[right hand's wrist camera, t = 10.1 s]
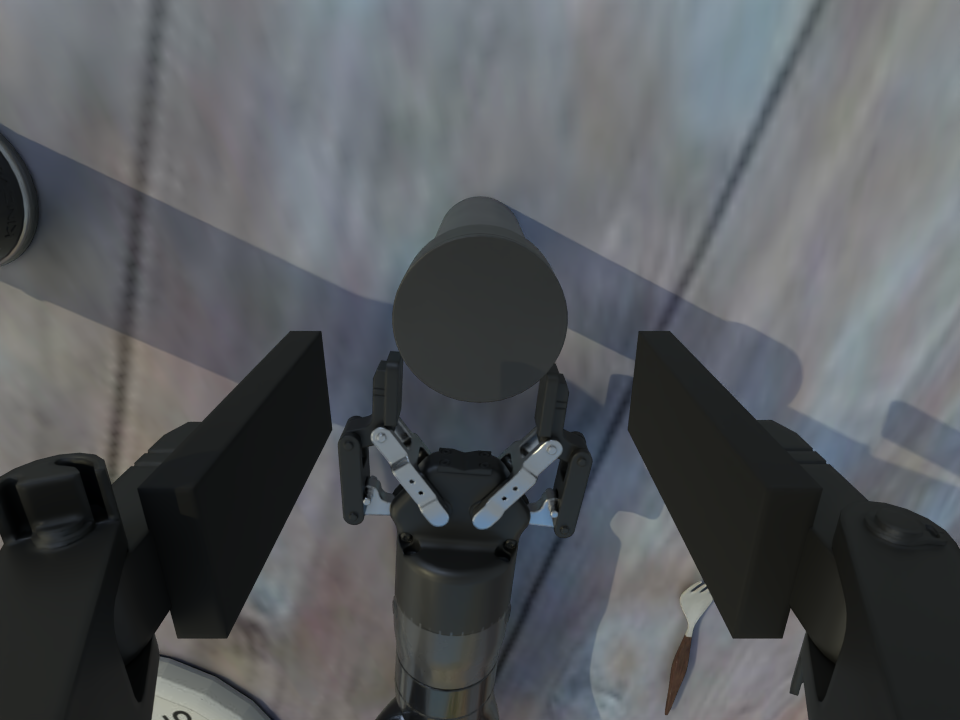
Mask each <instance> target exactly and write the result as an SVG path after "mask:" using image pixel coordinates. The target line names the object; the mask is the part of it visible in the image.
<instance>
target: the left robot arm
mask: <svg viewBox="0 0 960 720" xmlns="http://www.w3.org/2000/svg"><path fill="white" fill-rule="evenodd" d="M37 222H38V201H37V195H36V191H35V187H34V184H33V181H32V179H31V176H30V174H29V172H28V170H27V168H26V166H25V164H24V162H23V161H22V159H21V157H20V156H19V154H18V153H17V152H16V150H15V149H14V148H13V146H12V145H11V144H10V143H9V142H8V140H7V139H6V138H5V137H4V136H3V135H2V134H1V133H0V266H3V265H5V264H8V263H10V262H11V261H13V260H15V259H16V258H18V257H19V256H20V255H21V254H22V253H23V252H24V251H25V250H26V249H27V247H28V246H29V244H30V243H31V241H32V239H33V237H34V234H35V231H36V228H37ZM402 378H403V358H402V356H401V354H400V352H396V351H390V354H389V356H388V359H387V361H383V360H381V362H380V364H379V366H378V368H377V370H376V373H375V375H374V378H373V414H371V415H370V416H367V417H363V418H362V417H360V416H353V417H351V418H349V420H348V421H347V424H346V426H345V428H344V430H343V433H342V435H341V437H340V439H339V442H338V454H339V467H340V480H341V493H342V506H343V518H344V520H345V521H346V522H347V523H349V524H351V525H357V524H360V523H361V522H362V521H363V519H364V516H365V515H391V518H392V519H393V521H394V522H395V524H396V527H397V551H396V575H395V596H394V599H393V614H394V628H395V637H396V666H395V692H396V697H395V698H394V699H393V700H392V701H391V702H390V703H389V704H388V705H387V706H386V707H385V708H384V709H383V711H382V712H381V713H380V714H379V716H378V717H377V718H376V719H375V720H500V719H499V713H498V708H497V704H496V700H495V696H494V691H493V689H494V684H495V677H496V670H497V663H498V655H499V651H500V647H501V644H502V642H503V639H504V635H505V631H506V625H507V622H508V620H509V616H510V610H511V606H510V598H511V591H512V584H513V577H514V570H515V563H516V556H517V549H518V542H519V538H520V535H521V534H522V532H523V531H524V530H525V529H526V527H527V526H528V525H538V526H546V527H554V531H555V534H556V535H557V536H558V537H560V538H568V537H570V536H571V535H572V534H573V533H574V531H575V527H576V523H577V519H578V516H579V512H580V508H581V504H582V500H583V497H584V493H585V489H586V485H587V481H588V477H589V474H590V470H591V466H592V462H593V461H592V457H591V454H590V452H589V451H588V448H587V445H586V441H585V438H584V436H583V434H582V433H580V432H576V431H574V432H569V431H566V430H564V429H563V427H564V420H565V414H566V408H567V402H568V396H569V391H568V387H567V384H566V381H565V378H564V376H563V374H559V371H558V369H557V366H556V364H555V363H554V364H553V366H552V367H551V368H550V370H549V371H548V372H547V373H546V374H545V375H544V376H543V377H542V378H541V379H540V383H539V390H538V397H537V404H536V411H535V422H536V427H535V428H534V429H533V430H531V431H530V432H529V433H528V434H527V435H526V436H525V437H524V438H523V439H522V440H521V441H515V442H514V443H513V444H512V445H511V446H509V447H508V448H507V449H506V450H505V451H504V452H503V453H502V454H501V455H500V456H499V457H498V458H497V457H495V456H492V455H491V451H473V452H466V453H465V452H461V451H458V450H455V449H449V448H440V449H439V452H435V453H431V452H430V451H429V450H428V448H427V447H426V446H425V444H424V443H423V442H422V440H421V439H420V438H419V436H418V435H417V434H415V433H412V432H411V431H410V430H409V429H408V427H407V426H406V425H405V423H404V422H403V421H402V419H401V418H400V417H399V415H400V411H401V402H402ZM373 445H375V446H376V448H377V449H378V450H379V451H380V452H381V454H382V455H383V456H384V457H385V459H386V460H387V461H388V462H389V464H390V466H391V470H392V473H393V475H394V476H395V478H396V479H397V480H398V481H399V482H400V485H399V486H398V487H397V488H396V489H395V490H394V492H393V494H389V493H387V492H385V491H384V490H383V489H382V487H381V483H380V481H379V480H377V477H375V476H371V477H370V466H369V446H373ZM557 458H558V459H560V462H559V466H558V470H557V475H556V479H555V483H554V487H553V489H552V488H548V489H546V492H544V493H543V494H542V497H541V499H540V500H539V501H537V502H535V503H529V501H528V499H527V497H526V495H525V493H526V492H527V491H528V490H529V489H530V488H531V487H532V486H533V485H534V484H535V483H536V481H537V478H538V476H539V474H540V473H541V472H542V471H544V470H545V469H546V468H547V467H548V466H549V465H550V464H551V463H552V462H553V461H555V460H556V459H557Z"/></svg>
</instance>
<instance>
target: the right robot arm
mask: <svg viewBox="0 0 960 720" xmlns="http://www.w3.org/2000/svg"><path fill="white" fill-rule="evenodd" d="M331 431H332V423H331V414H330V405H329V396H328V387H327V378H326V369H325V360H324V351H323V342H322V333H321V331H290V332H289V333H288V334H287V335H286V336H285V337H284V338H283V339H282V340H281V341H280V342H279V343H278V344H277V345H276V346H275V347H274V348H273V349H272V350H271V351H270V352H269V353H268V355H267V356H266V357H265V358H264V359H263V360H262V361H261V362H260V363H259V364H258V365H257V366H256V367H255V368H254V369H253V370H252V371H251V372H250V373H249V374H248V375H247V376H246V377H245V378H244V379H243V380H242V381H241V382H240V383H239V384H238V385H237V386H236V387H235V388H234V389H233V390H232V391H231V392H230V394H229V395H228V396H227V397H226V398H225V399H224V400H223V401H222V402H221V403H220V404H219V405H218V406H217V407H216V408H215V409H214V410H213V411H212V412H211V413H210V414H209V415H208V416H207V417H206V418H205V419H204V420H203V421H202V422H187V423H186V424H184V425H182V426H180V427H178V428H176V429H174V430H173V431H171V432H169V433H167V434H165V435H164V436H163V437H161V438H160V439H159V440H158V441H157V442H156V443H155V444H154V445H153V446H152V447H151V448H150V449H149V450H148V453H145V454H143V455H142V456H141V457H140V458H139V459H138V460H137V461H136V462H135V465H134V466H131V467H130V468H129V469H128V470H127V471H126V472H124V473H123V474H122V475H121V476H120V477H119V478H118V479H117V480H116V481H115V482H114V483H113V484H112V485H111V482H110V478H109V475H108V471H107V468H106V464H105V461H104V460H103V459H102V458H100V457H98V456H97V455H94V454H86V453H72V454H62V455H56V456H52V457H48V458H44V459H40V460H36V461H33V462H31V463H28V464H25V465H23V466H20V467H18V468H15V469H13V470H11V471H9V472H8V473H6V474H4V475H2V476H1V477H0V535H1V537H2V540H3V542H4V545H3V546H2V548H1V550H0V720H152V713H153V706H154V698H155V690H156V682H157V675H158V667H159V659H160V655H159V649H158V644H157V640H156V637H155V632H156V630H157V629H158V627H159V626H160V624H161V623H162V621H163V620H164V618H165V617H166V615H167V614H168V612H169V610H170V612H171V616H172V620H173V623H174V627H175V631H176V634H177V638H228V636H229V634H230V632H231V630H232V628H233V626H234V624H235V622H236V620H237V618H238V616H239V614H240V612H241V610H242V608H243V606H244V604H245V602H246V600H247V598H248V596H249V594H250V592H251V590H252V588H253V586H254V584H255V582H256V580H257V578H258V576H259V574H260V572H261V570H262V568H263V566H264V564H265V562H266V560H267V558H268V556H269V554H270V552H271V550H272V548H273V546H274V544H275V542H276V540H277V538H278V536H279V534H280V532H281V530H282V528H283V526H284V524H285V522H286V520H287V519H288V517H289V515H290V513H291V511H292V509H293V507H294V505H295V503H296V501H297V499H298V497H299V495H300V493H301V491H302V489H303V487H304V485H305V483H306V481H307V479H308V477H309V475H310V473H311V471H312V469H313V467H314V465H315V463H316V461H317V459H318V457H319V455H320V453H321V451H322V449H323V447H324V445H325V443H326V441H327V439H328V437H329V435H330V433H331ZM628 431H629V433H630V435H631V437H632V439H633V441H634V443H635V445H636V447H637V449H638V451H639V453H640V455H641V457H642V459H643V461H644V463H645V465H646V467H647V469H648V471H649V473H650V475H651V477H652V479H653V481H654V483H655V485H656V487H657V489H658V491H659V493H660V495H661V497H662V499H663V501H664V503H665V505H666V507H667V509H668V511H669V513H670V515H671V517H672V519H673V521H674V522H675V524H676V526H677V528H678V530H679V532H680V534H681V536H682V538H683V540H684V542H685V544H686V546H687V548H688V550H689V552H690V554H691V556H692V558H693V560H694V562H695V564H696V566H697V568H698V570H699V572H700V574H701V576H702V578H703V580H704V582H705V584H706V586H707V588H708V590H709V592H710V594H711V596H712V598H713V600H714V602H715V604H716V606H717V608H718V610H719V612H720V614H721V616H722V618H723V620H724V622H725V624H726V626H727V628H728V630H729V632H730V634H731V636H732V638H783V634H784V631H785V627H786V623H787V620H788V616H789V612H790V608H791V609H792V611H793V612H794V614H795V615H796V617H797V618H798V620H799V621H800V623H801V624H802V626H803V627H804V629H805V630H806V633H805V637H804V640H803V644H802V647H801V651H800V654H799V657H798V661H797V664H796V668H795V671H794V675H793V678H792V682H791V688H790V693H791V694H794V695H797V696H798V694H799V690H800V687H801V684H802V683H803V682H804V688H805V696H806V704H807V711H808V719H809V720H960V549H959V547H958V545H957V543H956V542H955V541H954V540H953V539H952V538H951V536H950V535H949V534H948V533H947V532H946V531H945V530H944V529H942V528H941V527H940V526H938V525H937V524H935V523H934V522H932V521H931V520H929V519H928V518H925V517H923V516H921V515H919V514H917V513H914V512H912V511H910V510H908V509H905V508H901V507H898V506H894V505H891V504H887V503H881V502H872V501H868V500H867V499H866V498H865V497H864V496H863V495H862V494H861V493H860V492H859V491H858V490H857V489H855V488H854V487H853V486H852V485H851V484H850V483H849V482H848V481H847V480H846V479H845V478H844V477H843V476H842V475H841V474H839V473H838V472H837V471H836V470H835V469H834V468H833V467H832V466H831V465H830V464H826V460H825V459H823V458H822V457H821V456H820V455H819V454H818V453H817V452H816V451H813V450H812V449H813V448H812V447H811V446H810V445H809V444H807V443H806V442H805V441H804V440H803V439H802V438H801V437H800V436H799V435H798V434H797V433H795V432H793V431H792V430H790V429H788V428H786V427H784V426H782V425H780V424H778V423H776V422H775V421H773V420H756V419H755V418H754V417H753V416H752V415H751V414H750V413H749V412H748V411H747V410H746V409H745V408H744V407H743V406H742V405H741V404H740V403H739V402H738V401H737V400H736V399H735V398H734V397H733V396H732V395H731V394H730V392H729V391H728V390H727V389H726V388H725V387H724V386H723V385H722V384H721V383H720V382H719V381H718V380H717V379H716V378H715V377H714V376H713V375H712V374H711V373H710V372H709V371H708V370H707V369H706V368H705V367H704V366H703V365H702V364H701V363H700V362H699V361H698V360H697V359H696V358H695V357H694V356H693V355H692V353H691V352H690V351H689V350H688V349H687V348H686V347H685V346H684V345H683V344H682V343H681V342H680V341H679V340H678V339H677V338H676V337H675V336H674V335H673V334H672V333H671V332H670V331H639V333H638V342H637V351H636V360H635V369H634V378H633V387H632V396H631V405H630V414H629V423H628Z"/></svg>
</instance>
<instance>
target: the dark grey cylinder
mask: <svg viewBox="0 0 960 720" xmlns="http://www.w3.org/2000/svg"><path fill="white" fill-rule="evenodd" d="M476 224H484V225H493V226H498V227H502V228H505V229H508V230H511V231H513V232H515V233H517V234H519V235H521V236H523V237H524V235H523V232H522V230H521V228H520V225H519V223H518V221H517V219H516V217H515V216H514V214H513V213H512V212H511V210H510V209H509V208H508V207H507V206H505V205H504V204H503V203H501V202H499V201H497V200H495V199H492V198H488V197H472V198H468V199H465V200H463V201H461V202H459V203H457V204H456V205H455V206H453V207H452V208H451V209H450V210H449V212H448V213H447V214H446V216H445V217H444V219H443V221H442V223H441V226H440V228H439V230H438V232H437V235H436V237H437V236H439V235H441V234H443V233H445V232H447V231H449V230H452V229H455V228H457V227H462V226H467V225H476ZM436 237H435V238H436ZM524 238H525V237H524Z"/></svg>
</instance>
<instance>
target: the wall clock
mask: <svg viewBox="0 0 960 720" xmlns="http://www.w3.org/2000/svg"><path fill="white" fill-rule="evenodd" d="M152 720H271V719H270V718H269V717H268V716H267V715H266V714H265V713H264V712H263V711H262V710H261V709H260V708H259V707H258V706H257V705H256V704H255V703H254V702H253V701H252V700H251V699H249V698H248V697H246V696H244V695H243V694H241V693H240V692H238V691H237V690H235V689H234V688H232V687H231V686H229V685H227V684H226V683H224V682H223V681H221V680H220V679H218V678H217V677H215V676H212V675H210V674H207V673H205V672H202V671H200V670H197V669H195V668H192V667H190V666H188V665H185V664H183V663H180V662H178V661H175V660H173V659H170V658H165V657H160V659H159V667H158V675H157V682H156V690H155V698H154V706H153V713H152Z"/></svg>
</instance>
